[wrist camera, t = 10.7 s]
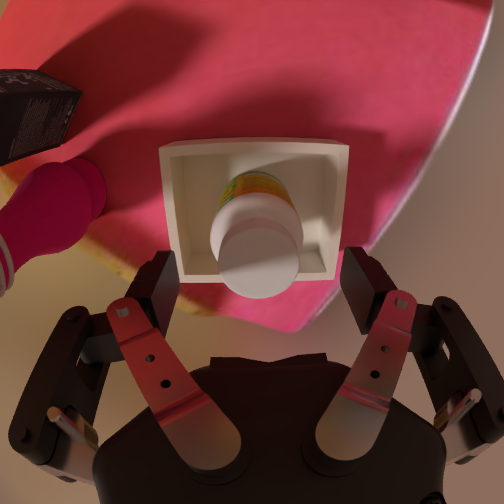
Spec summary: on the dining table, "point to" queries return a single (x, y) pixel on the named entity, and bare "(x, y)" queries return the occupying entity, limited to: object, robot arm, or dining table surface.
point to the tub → (253, 159)
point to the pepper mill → (48, 213)
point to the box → (33, 113)
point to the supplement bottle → (256, 236)
